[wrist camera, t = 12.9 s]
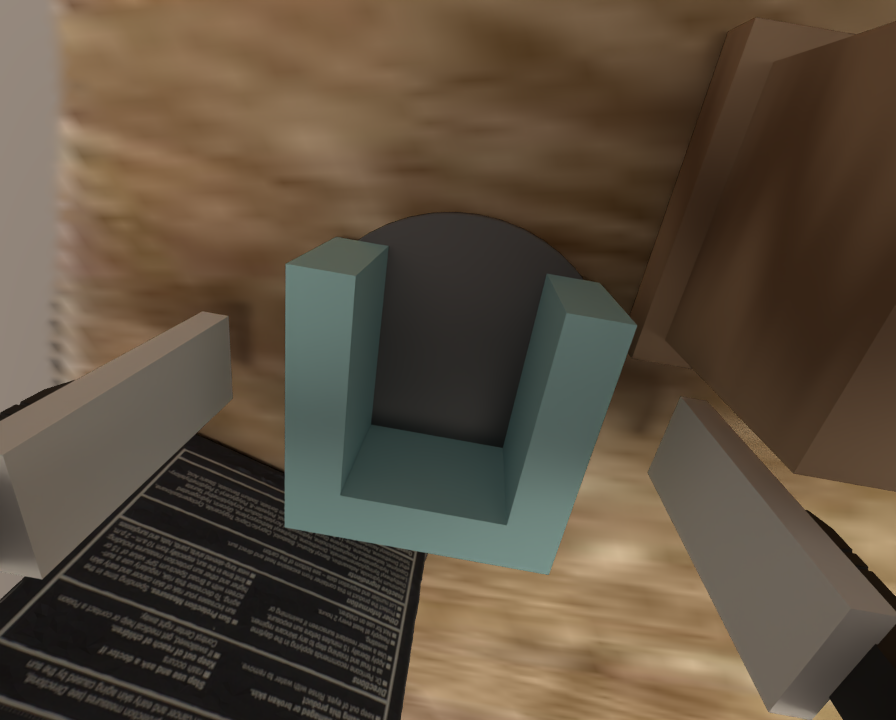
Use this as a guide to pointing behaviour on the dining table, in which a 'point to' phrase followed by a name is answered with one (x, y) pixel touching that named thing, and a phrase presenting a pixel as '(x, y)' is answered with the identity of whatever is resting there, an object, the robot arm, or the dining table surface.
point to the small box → (211, 610)
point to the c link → (431, 457)
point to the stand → (789, 248)
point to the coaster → (457, 322)
